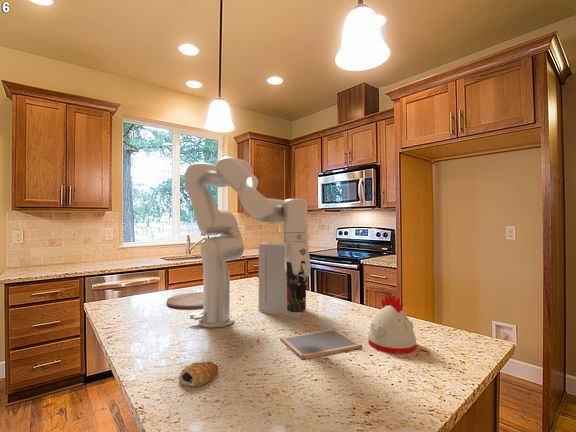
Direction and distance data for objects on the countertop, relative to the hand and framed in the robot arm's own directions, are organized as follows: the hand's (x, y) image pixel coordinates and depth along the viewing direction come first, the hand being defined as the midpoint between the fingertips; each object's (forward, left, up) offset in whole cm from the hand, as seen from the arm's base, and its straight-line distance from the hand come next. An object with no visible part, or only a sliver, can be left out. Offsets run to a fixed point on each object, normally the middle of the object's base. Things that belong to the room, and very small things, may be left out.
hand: (296, 295), depth 100 cm
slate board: (+6, -5, -14) cm, 16 cm away
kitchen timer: (+26, -14, -15) cm, 33 cm away
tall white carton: (+11, +32, -15) cm, 37 cm away
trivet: (-22, +62, -15) cm, 68 cm away
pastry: (-31, -12, -15) cm, 37 cm away
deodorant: (0, 0, -5) cm, 5 cm away
